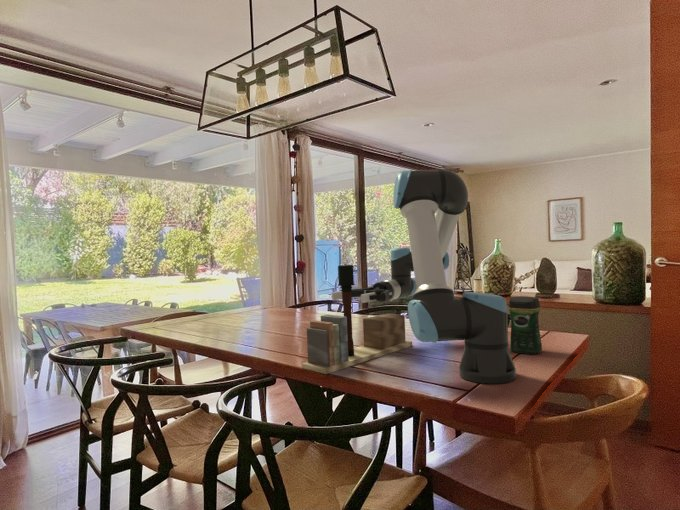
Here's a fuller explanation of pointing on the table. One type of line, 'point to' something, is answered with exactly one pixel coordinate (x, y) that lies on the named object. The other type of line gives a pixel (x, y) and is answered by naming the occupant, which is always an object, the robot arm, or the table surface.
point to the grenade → (347, 299)
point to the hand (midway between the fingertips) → (346, 297)
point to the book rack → (337, 346)
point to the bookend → (384, 331)
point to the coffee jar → (525, 325)
